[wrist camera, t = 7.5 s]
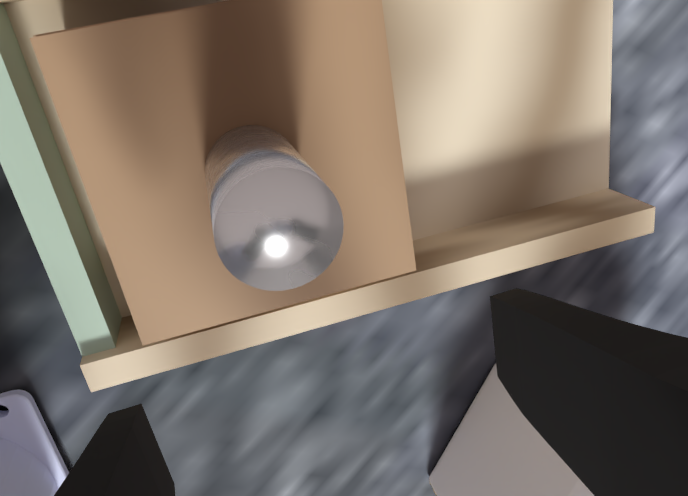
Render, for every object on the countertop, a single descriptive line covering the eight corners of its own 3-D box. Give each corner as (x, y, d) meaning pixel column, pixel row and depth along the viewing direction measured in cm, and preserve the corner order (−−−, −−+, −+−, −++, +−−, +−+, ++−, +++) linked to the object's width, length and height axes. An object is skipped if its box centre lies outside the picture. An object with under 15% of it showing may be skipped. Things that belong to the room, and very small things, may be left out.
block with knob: (149, 286, 19) (126, 464, 11) (61, 32, 16) (-53, 43, 8) (377, 227, 21) (493, 352, 13) (339, -18, 17) (465, -49, 10)
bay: (114, 358, 21) (102, 417, 18) (-55, -68, 15) (-116, -91, 12) (591, 226, 24) (652, 256, 21) (596, -164, 19) (679, -200, 16)
